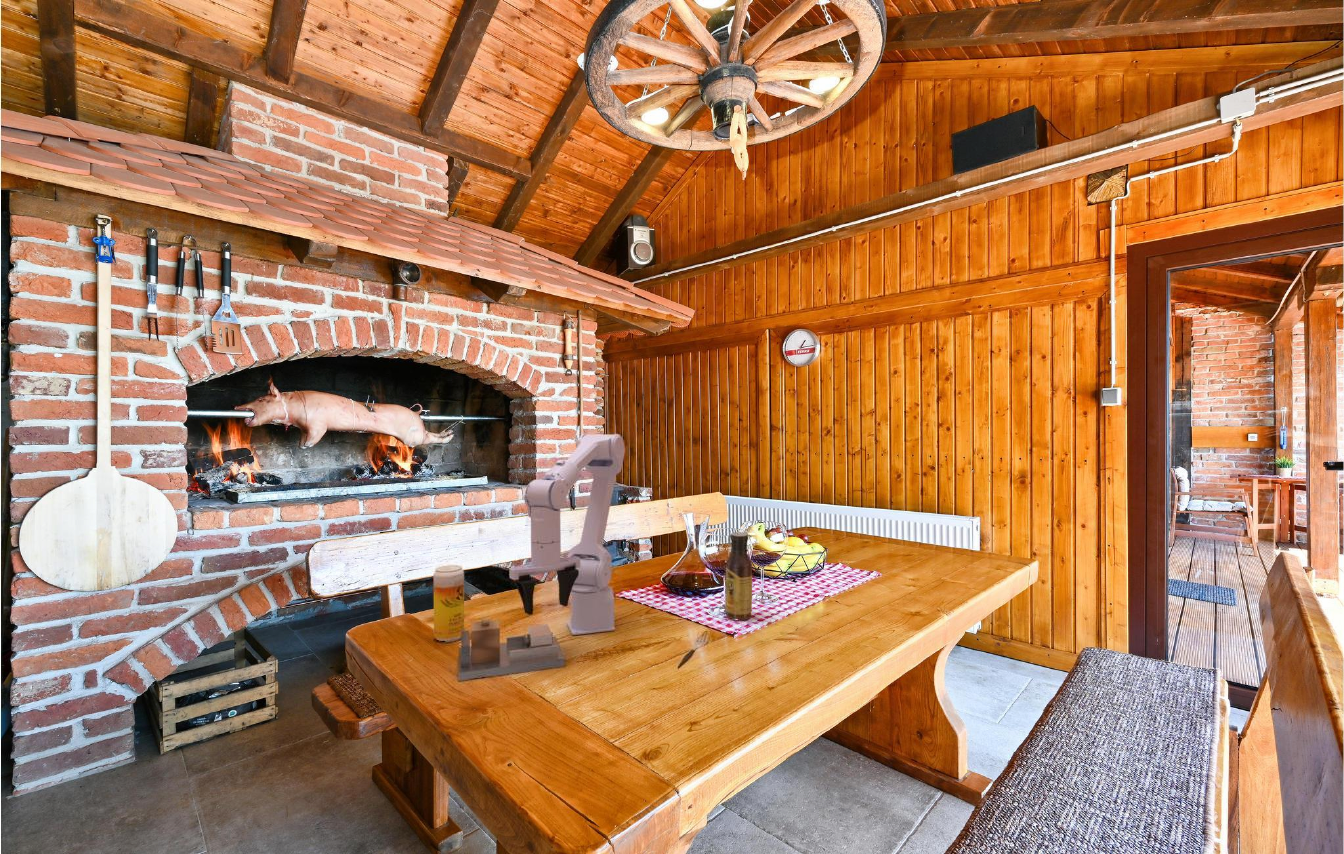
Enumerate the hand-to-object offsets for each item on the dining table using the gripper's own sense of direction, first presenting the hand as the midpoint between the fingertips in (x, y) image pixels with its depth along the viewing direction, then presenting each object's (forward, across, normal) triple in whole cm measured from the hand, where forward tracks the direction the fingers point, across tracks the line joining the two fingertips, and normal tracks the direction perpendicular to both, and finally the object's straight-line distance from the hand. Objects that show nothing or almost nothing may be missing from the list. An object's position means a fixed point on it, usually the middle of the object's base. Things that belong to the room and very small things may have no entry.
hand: (546, 609), depth 117 cm
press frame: (+9, +7, -2) cm, 12 cm away
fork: (+10, -23, +17) cm, 30 cm away
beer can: (+10, +11, -22) cm, 27 cm away
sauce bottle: (+10, -45, +9) cm, 47 cm away
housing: (+8, +11, -4) cm, 14 cm away
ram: (+7, +2, 0) cm, 8 cm away
